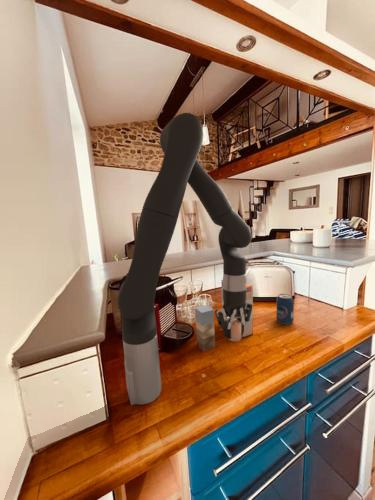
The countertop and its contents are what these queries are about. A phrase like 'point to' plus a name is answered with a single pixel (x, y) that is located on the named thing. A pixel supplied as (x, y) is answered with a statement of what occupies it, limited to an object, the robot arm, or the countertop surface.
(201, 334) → the tower mid
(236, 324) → the pink rounded cylinder
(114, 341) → the countertop surface
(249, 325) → the cracker box
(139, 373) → the robot arm
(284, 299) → the soda can
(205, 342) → the tower base
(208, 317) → the tower top
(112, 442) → the countertop surface
